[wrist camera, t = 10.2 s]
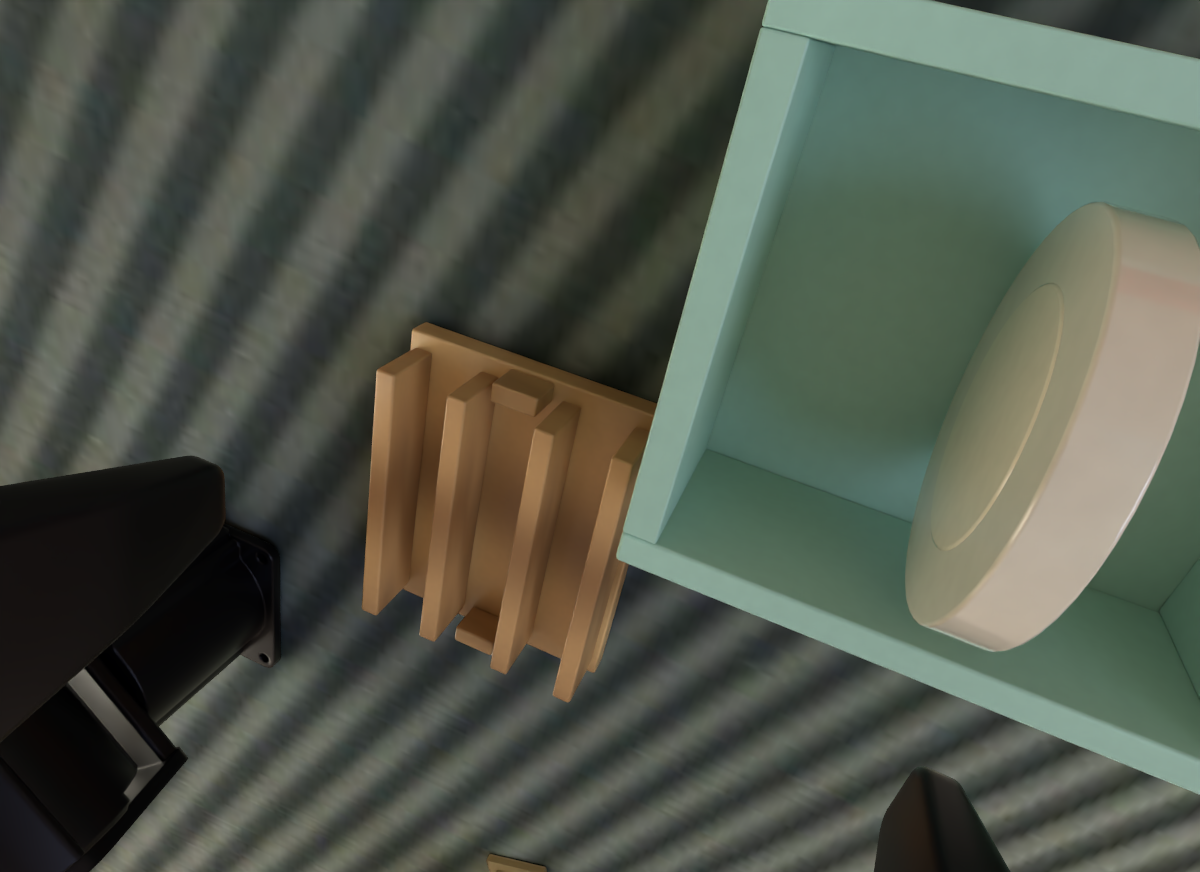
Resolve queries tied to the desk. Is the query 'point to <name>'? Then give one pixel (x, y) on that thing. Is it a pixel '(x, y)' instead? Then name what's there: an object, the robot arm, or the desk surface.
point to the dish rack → (501, 499)
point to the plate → (1055, 426)
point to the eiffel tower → (511, 865)
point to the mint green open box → (917, 349)
